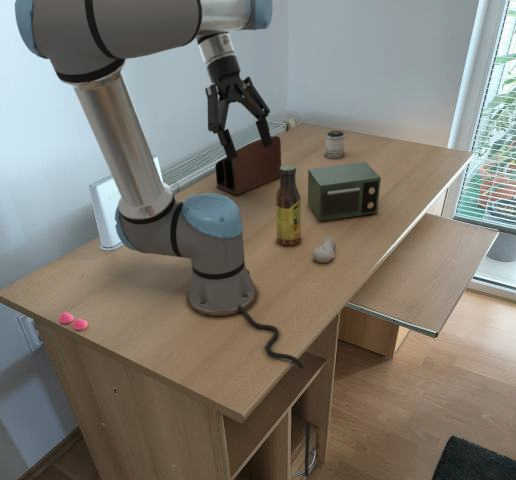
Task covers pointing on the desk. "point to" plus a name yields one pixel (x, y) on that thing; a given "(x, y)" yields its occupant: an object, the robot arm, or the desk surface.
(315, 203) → the toaster oven
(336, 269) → the desk surface
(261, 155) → the letter holder
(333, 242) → the pale two-lobed sculpture
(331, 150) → the camera lens
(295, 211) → the sauce bottle
